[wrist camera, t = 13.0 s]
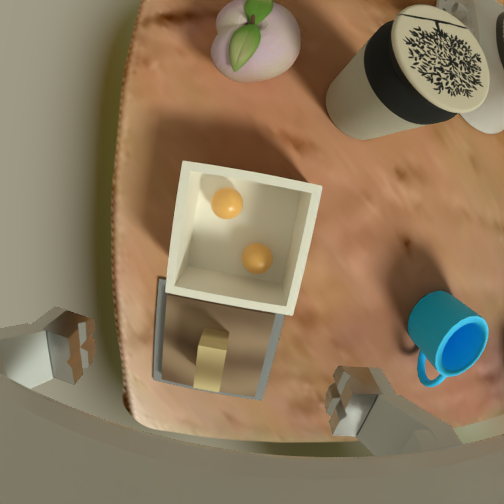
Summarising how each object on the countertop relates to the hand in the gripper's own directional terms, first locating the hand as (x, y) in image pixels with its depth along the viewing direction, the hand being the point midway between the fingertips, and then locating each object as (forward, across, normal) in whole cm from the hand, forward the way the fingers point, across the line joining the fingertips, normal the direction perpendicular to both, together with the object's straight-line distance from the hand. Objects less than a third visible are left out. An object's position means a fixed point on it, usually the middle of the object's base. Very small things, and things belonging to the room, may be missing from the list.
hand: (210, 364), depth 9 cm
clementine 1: (+24, +2, -3) cm, 25 cm away
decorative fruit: (+25, +2, -19) cm, 32 cm away
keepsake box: (+25, 0, 0) cm, 25 cm away
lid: (+25, +1, +15) cm, 29 cm away
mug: (+25, -27, +9) cm, 38 cm away
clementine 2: (+24, -2, +2) cm, 25 cm away
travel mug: (+25, -10, -16) cm, 32 cm away
